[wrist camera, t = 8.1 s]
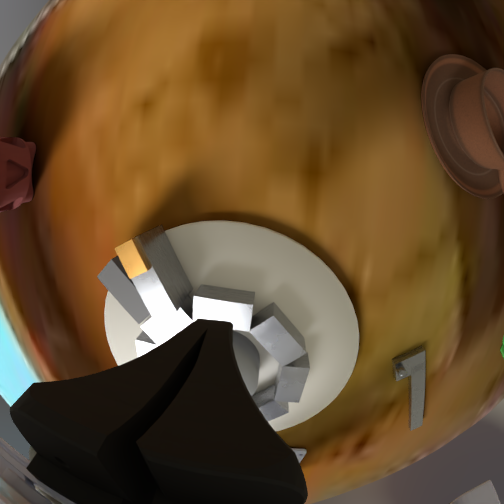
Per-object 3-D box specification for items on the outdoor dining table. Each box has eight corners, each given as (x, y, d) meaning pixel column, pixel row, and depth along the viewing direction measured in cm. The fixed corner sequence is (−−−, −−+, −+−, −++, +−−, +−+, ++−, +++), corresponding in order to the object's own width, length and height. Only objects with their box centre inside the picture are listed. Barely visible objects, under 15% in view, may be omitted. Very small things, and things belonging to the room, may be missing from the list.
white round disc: (312, 438, 24) (314, 464, 21) (121, 399, 25) (108, 421, 21) (392, 251, 18) (415, 267, 15) (107, 201, 19) (77, 207, 15)
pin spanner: (419, 420, 23) (425, 432, 21) (396, 430, 24) (401, 442, 22) (420, 344, 20) (430, 357, 18) (391, 358, 21) (399, 372, 19)
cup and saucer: (520, 150, 14) (561, 151, 8) (463, 224, 17) (511, 243, 11) (455, 43, 13) (491, 21, 7) (382, 100, 15) (423, 75, 10)
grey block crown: (331, 245, 17) (346, 264, 14) (287, 418, 22) (287, 450, 18) (141, 222, 18) (111, 234, 14) (154, 395, 23) (139, 423, 19)
